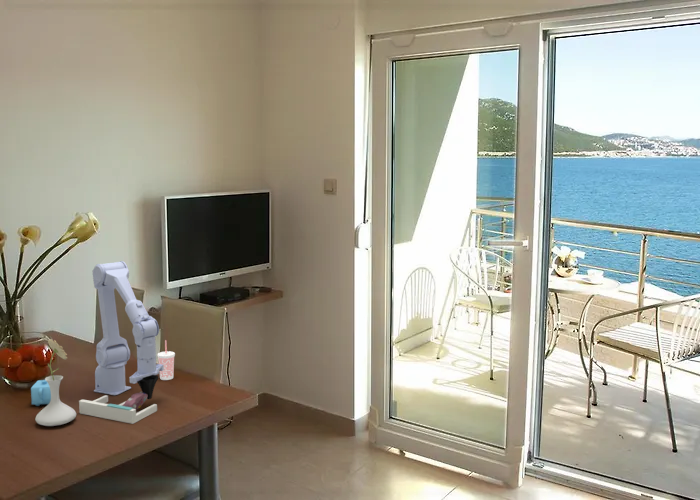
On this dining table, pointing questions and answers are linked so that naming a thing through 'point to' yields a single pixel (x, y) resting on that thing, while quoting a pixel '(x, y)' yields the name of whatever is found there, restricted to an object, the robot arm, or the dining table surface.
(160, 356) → the beverage cup
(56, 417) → the flower in vase
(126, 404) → the video game controller
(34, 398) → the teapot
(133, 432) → the dining table surface
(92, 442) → the dining table surface
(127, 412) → the comb rack
